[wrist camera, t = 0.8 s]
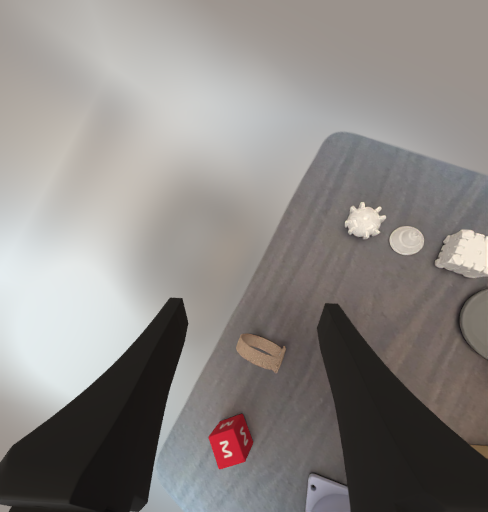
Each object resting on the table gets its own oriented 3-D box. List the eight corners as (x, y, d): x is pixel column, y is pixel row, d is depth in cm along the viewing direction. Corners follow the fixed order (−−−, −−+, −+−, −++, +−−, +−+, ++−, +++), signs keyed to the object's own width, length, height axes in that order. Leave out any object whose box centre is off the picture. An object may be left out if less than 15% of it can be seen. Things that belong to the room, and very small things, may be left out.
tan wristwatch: (281, 365, 25) (272, 382, 20) (242, 345, 27) (226, 357, 22) (289, 342, 25) (282, 353, 21) (250, 324, 27) (235, 331, 22)
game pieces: (483, 247, 21) (511, 239, 18) (469, 280, 21) (494, 278, 18) (351, 207, 25) (355, 196, 22) (339, 235, 25) (341, 227, 22)
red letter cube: (253, 442, 25) (245, 461, 22) (230, 449, 26) (218, 469, 23) (242, 413, 26) (233, 428, 23) (220, 421, 26) (208, 436, 24)
